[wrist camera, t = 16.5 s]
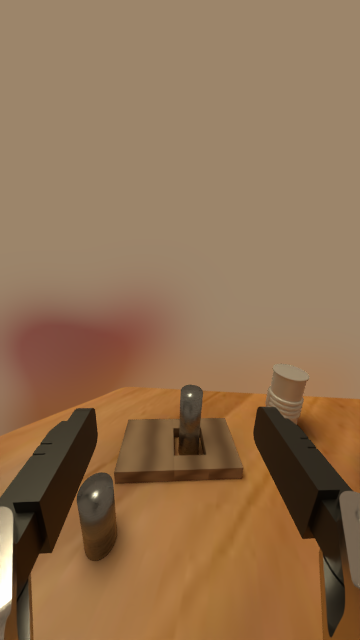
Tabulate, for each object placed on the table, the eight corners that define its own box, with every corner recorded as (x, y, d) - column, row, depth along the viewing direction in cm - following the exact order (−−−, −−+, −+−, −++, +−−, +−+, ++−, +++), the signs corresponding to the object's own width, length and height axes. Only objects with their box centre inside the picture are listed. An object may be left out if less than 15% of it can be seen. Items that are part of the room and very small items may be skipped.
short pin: (78, 561, 22) (70, 511, 20) (92, 519, 26) (85, 473, 24) (111, 559, 23) (106, 510, 20) (120, 517, 27) (116, 472, 24)
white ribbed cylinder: (259, 413, 47) (269, 361, 43) (289, 419, 46) (301, 366, 42) (265, 436, 41) (276, 377, 37) (299, 444, 39) (315, 383, 35)
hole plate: (115, 483, 31) (114, 472, 30) (128, 428, 41) (128, 419, 41) (241, 478, 32) (243, 467, 32) (223, 426, 43) (224, 418, 42)
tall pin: (178, 461, 35) (181, 399, 31) (177, 442, 39) (180, 384, 35) (199, 460, 35) (204, 398, 31) (196, 441, 39) (200, 384, 35)
